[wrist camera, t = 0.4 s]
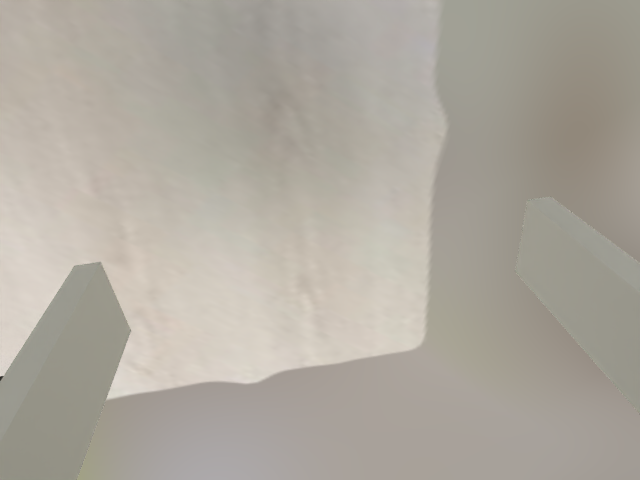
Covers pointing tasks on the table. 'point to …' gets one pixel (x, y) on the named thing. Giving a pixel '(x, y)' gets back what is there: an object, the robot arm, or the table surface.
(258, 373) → the table surface
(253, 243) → the table surface
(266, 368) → the table surface
